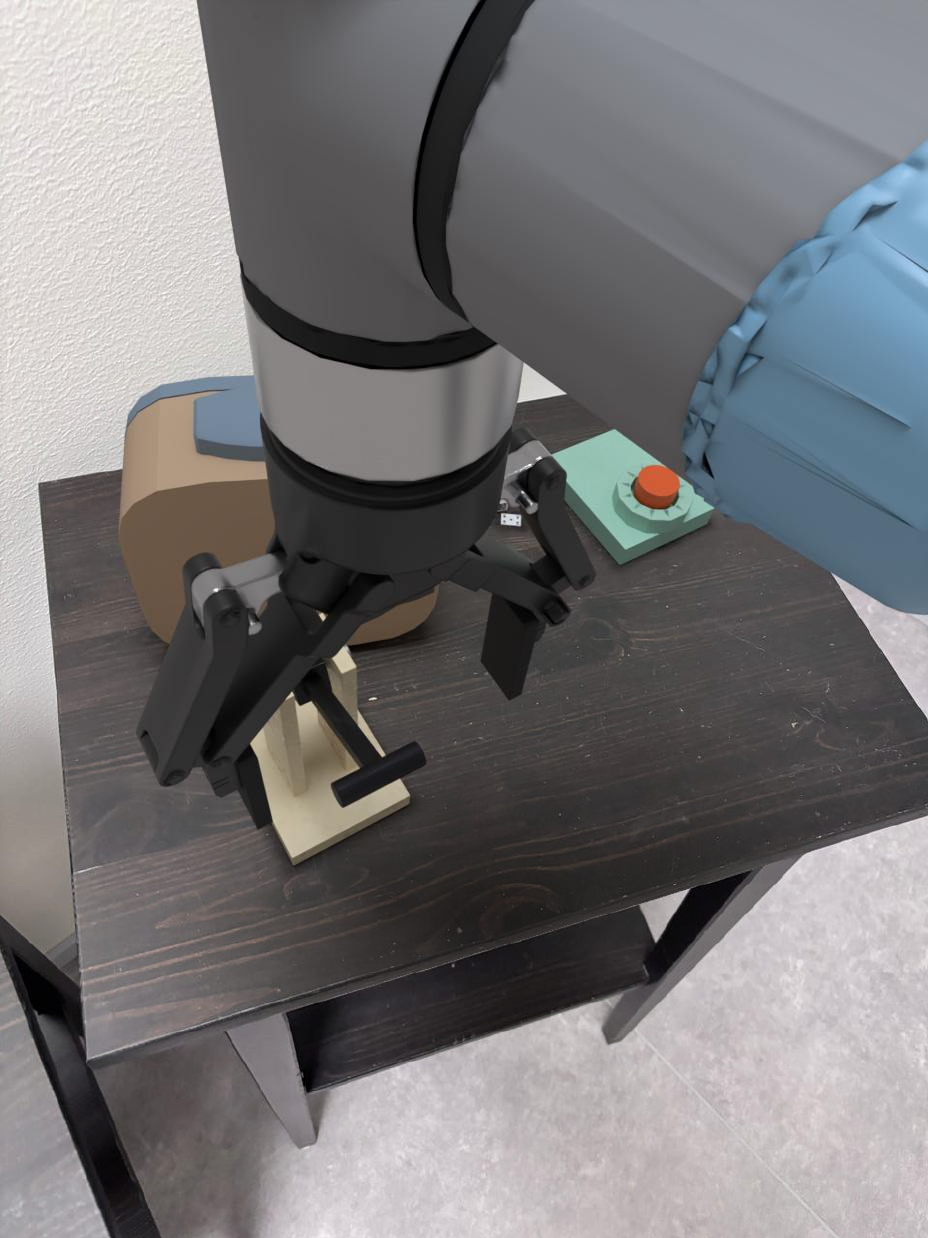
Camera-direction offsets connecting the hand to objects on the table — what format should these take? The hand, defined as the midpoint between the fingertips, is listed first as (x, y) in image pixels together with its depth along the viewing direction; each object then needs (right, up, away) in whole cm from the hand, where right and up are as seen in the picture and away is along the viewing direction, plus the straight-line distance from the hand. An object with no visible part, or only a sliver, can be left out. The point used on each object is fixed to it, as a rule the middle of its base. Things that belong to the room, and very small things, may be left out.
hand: (383, 736), depth 44 cm
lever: (-3, -1, +8) cm, 9 cm away
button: (+20, +16, +34) cm, 43 cm away
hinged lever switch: (-7, -5, +21) cm, 23 cm away
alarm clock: (-9, +7, +29) cm, 31 cm away
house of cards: (+8, +17, +38) cm, 43 cm away
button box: (+18, +17, +39) cm, 46 cm away
